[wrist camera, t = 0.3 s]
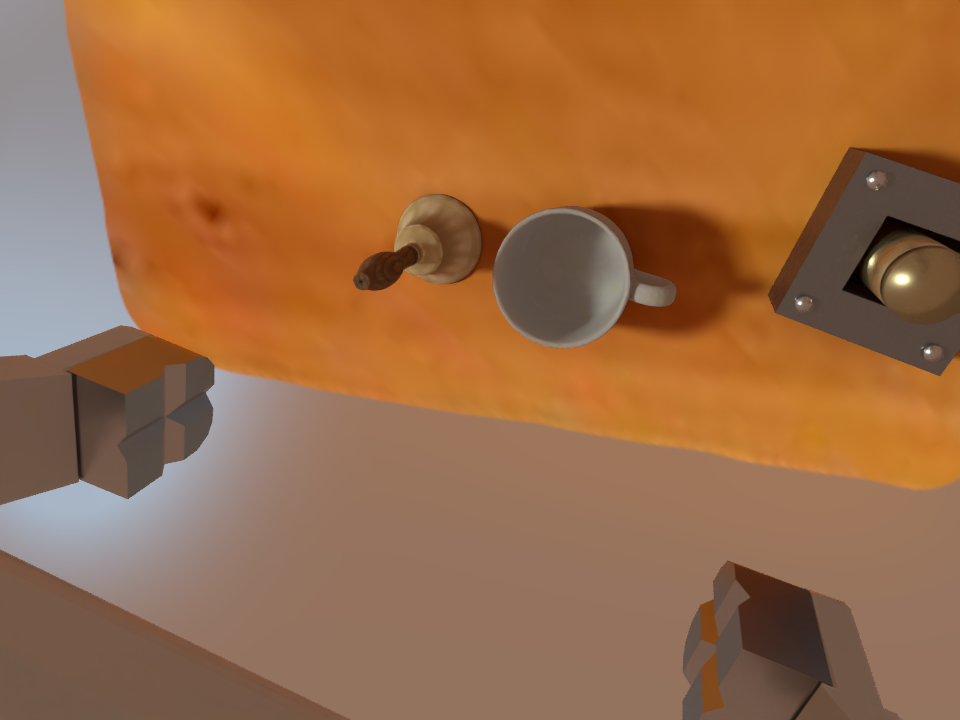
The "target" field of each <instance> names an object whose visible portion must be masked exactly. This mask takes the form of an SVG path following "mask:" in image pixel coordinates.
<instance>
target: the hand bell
mask: <svg viewBox="0 0 960 720" xmlns="http://www.w3.org/2000/svg"><path fill="white" fill-rule="evenodd" d="M481 249H482V238H481V231H480V228H479V225H478V223H477V221H476V219H475V217H474V215H473V214H472V212H471V211H470V210H469V209H468V208H467V207H466V206H465V205H464V204H463V203H461V202H460V201H458V200H457V199H455V198H452V197H450V196H447V195H442V194H431V195H426V196H423V197H420V198H419V199H417V200H415V201H414V202H412V203H411V204H410V205H409V206H408V207H407V208H406V210H405V211H404V213H403V214H402V216H401V219H400V222H399V225H398V232H397V238H396V240H395V245H394V251H395V252H394V253H393V252H380V253H377V254H374V255H372V256H370V257H368V258H367V259H366V260H365V261H364V262H363V263H362V264H361V266H360V267H359V270H358V272H357V273H356V275H355V276H354V278H353V281H354V284H355V286H356V288H358V289H360V290H372V291H376V290H382V289H385V288H387V287H389V286H391V285H392V284H394V283H395V282H396V281H397V280H398V279H399V277H400V276H401V274H402V272H403V270H405V271H407V272H408V273H410V274H412V275H415V276H419V277H420V278H422V279H424V280H426V281H428V282H431V283H435V284H451V283H455V282H457V281H459V280H461V279H463V278H465V277H466V276H467V275H468V274H470V273H471V271H472V270H473V269H474V267H475V266H476V264H477V262H478V260H479V257H480V254H481Z"/></svg>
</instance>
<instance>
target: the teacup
mask: <svg viewBox="0 0 960 720" xmlns="http://www.w3.org/2000/svg"><path fill="white" fill-rule="evenodd" d="M493 289H494V294H495V298H496V301H497V303H498V306H499V307H500V310H501V312H502V313H503V315H504V317H505V318H506V319H507V320H508V322H509V323H510V324H511V325H512V326H513V327H514V328H515V329H516V330H517V331H518V332H519V333H520V334H522V335H523V336H525V337H526V338H528V339H529V340H531V341H533V342H535V343H538V344H541V345H544V346H547V347H554V348H571V347H579V346H583V345H586V344H588V343H590V342H592V341H595V340H597V339H598V338H600V337H602V336H603V335H604V334H606V333H607V332H608V331H609V330H610V329H611V328H612V327H613V326H614V325H615V324H616V322H617V321H618V319H619V318H620V316H621V315H622V313H623V311H624V308H625V306H626V304H627V301H628V300H631V301H634V302H637V303H640V304H643V305H649V306H655V307H664V306H669V305H670V304H672V303H673V302H674V300H675V297H676V292H677V289H676V285H675V284H674V283H673V282H671V281H670V280H668V279H665V278H662V277H659V276H656V275H652V274H649V273H645V272H642V271H640V270H637V269H634V264H633V257H632V252H631V249H630V246H629V243H628V241H627V239H626V237H625V235H624V234H623V233H622V231H621V230H620V229H619V227H618V226H617V225H616V224H615V223H614V222H613V221H611V220H610V219H609V218H607V217H606V216H604V215H602V214H601V213H599V212H597V211H594V210H592V209H588V208H584V207H577V206H566V207H559V208H553V209H547V210H543V211H540V212H537V213H534V214H532V215H530V216H528V217H527V218H525V219H524V220H522V221H521V222H519V223H518V224H517V225H516V226H514V227H513V229H512V230H511V231H510V232H509V233H508V235H507V236H506V237H505V239H504V240H503V242H502V244H501V246H500V248H499V250H498V253H497V255H496V258H495V262H494V266H493Z"/></svg>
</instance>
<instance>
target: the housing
mask: <svg viewBox="0 0 960 720" xmlns="http://www.w3.org/2000/svg"><path fill="white" fill-rule="evenodd" d="M887 216H890V217H893V218H896V219H899V220H902V221H905V222H907V223H910V224H913V225H916V226H919V227H922V228H924V229H927V230H930V231H933V232H936V233H939V234H942V235H943V236H942V238H941V239H940V241H939V243H941V244H943V245H944V246H946V247H948V248H950V249H952V250H954V251H955V252H957V253H959V254H960V183H957V182H954V181H951V180H948V179H945V178H942V177H939V176H936V175H933V174H930V173H927V172H924V171H921V170H918V169H916V168H913V167H910V166H907V165H904V164H901V163H898V162H895V161H892V160H889V159H886V158H883V157H880V156H877V155H874V154H871V153H868V152H865V151H861V150H857V149H853V148H849V149H848V151H847V153H846V154H845V156H844V158H843V160H842V162H841V163H840V165H839V167H838V169H837V171H836V172H835V174H834V176H833V178H832V180H831V181H830V183H829V185H828V187H827V189H826V191H825V192H824V194H823V196H822V198H821V200H820V201H819V203H818V205H817V207H816V209H815V210H814V212H813V214H812V216H811V218H810V219H809V221H808V223H807V225H806V227H805V229H804V230H803V232H802V234H801V236H800V238H799V239H798V241H797V243H796V245H795V247H794V248H793V250H792V252H791V254H790V256H789V257H788V259H787V261H786V263H785V265H784V266H783V268H782V270H781V272H780V274H779V276H778V277H777V279H776V281H775V283H774V285H773V286H772V288H771V290H770V292H769V294H768V296H769V299H770V301H771V304H772V306H773V308H774V311H775V313H777V314H780V315H782V316H785V317H787V318H790V319H793V320H795V321H798V322H800V323H803V324H806V325H808V326H811V327H813V328H816V329H819V330H821V331H824V332H826V333H829V334H832V335H834V336H837V337H839V338H842V339H845V340H847V341H850V342H852V343H855V344H858V345H860V346H863V347H865V348H868V349H871V350H873V351H876V352H878V353H881V354H884V355H886V356H889V357H891V358H894V359H897V360H899V361H902V362H904V363H907V364H910V365H912V366H915V367H917V368H920V369H923V370H925V371H928V372H930V373H933V374H936V375H938V376H940V375H941V374H942V373H943V371H944V370H945V369H946V367H947V366H948V364H949V363H950V362H951V360H952V359H953V358H954V356H955V355H956V354H957V352H958V351H959V350H960V312H959V313H958V314H956V315H955V316H953V317H951V318H949V319H947V320H945V321H942V322H939V323H935V324H925V325H922V324H913V323H909V322H906V321H904V320H902V319H900V318H898V317H897V316H896V315H895V314H893V313H892V312H891V311H890V310H889V309H888V308H887V307H886V306H885V304H884V303H883V302H882V301H881V300H880V299H879V298H878V297H877V296H876V295H875V294H874V293H873V292H872V291H871V290H870V289H869V288H866V287H863V286H860V285H858V284H855V283H852V282H850V281H848V279H849V278H850V276H851V274H852V273H853V271H854V269H855V268H856V266H857V264H858V263H859V261H860V259H861V258H862V256H863V255H864V253H865V251H866V250H867V248H868V246H869V245H870V243H871V241H872V240H873V238H874V237H875V235H876V233H877V232H878V230H879V228H880V227H881V225H882V223H883V222H884V220H885V218H886V217H887Z"/></svg>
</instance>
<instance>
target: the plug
mask: <svg viewBox="0 0 960 720" xmlns="http://www.w3.org/2000/svg"><path fill="white" fill-rule="evenodd" d="M853 273H854V274H855V275H856V276H857V277H858V278H859V279H860V280H861V281H862V282H863V283H864V284H865V285H866V286H867V287H868V288H869V289H870V290H871V291H872V292H873V293H874V294H875V295H876V296H877V297H878V298H879V299H880V300H881V301H882V302H883V303H884V304H885V306H886V307H887V308H888V309H889V310H890V311H891V312H892V313H893V314H895V315H896V316H897V317H898V318H900V319H902V320H904V321H906V322H909V323H913V324H922V325H925V324H935V323H939V322H942V321H945V320H947V319H949V318H951V317H953V316H955V315H956V314H958V313H959V312H960V254H959V253H957V252H955V251H954V250H952V249H950V248H948V247H946V246H944V245H943V244H941V243H939V242H937V241H935V240H933V239H932V238H930V237H928V236H926V235H924V234H923V233H921V232H919V231H917V230H915V229H913V228H912V227H910V226H908V225H906V224H903V223H900V222H894V221H887V222H883V223H882V225H881V227H880V228H879V230H878V232H877V233H876V235H875V237H874V238H873V240H872V241H871V243H870V245H869V246H868V248H867V250H866V251H865V253H864V255H863V256H862V258H861V259H860V261H859V263H858V264H857V266H856V268H855V269H854V271H853Z"/></svg>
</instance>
